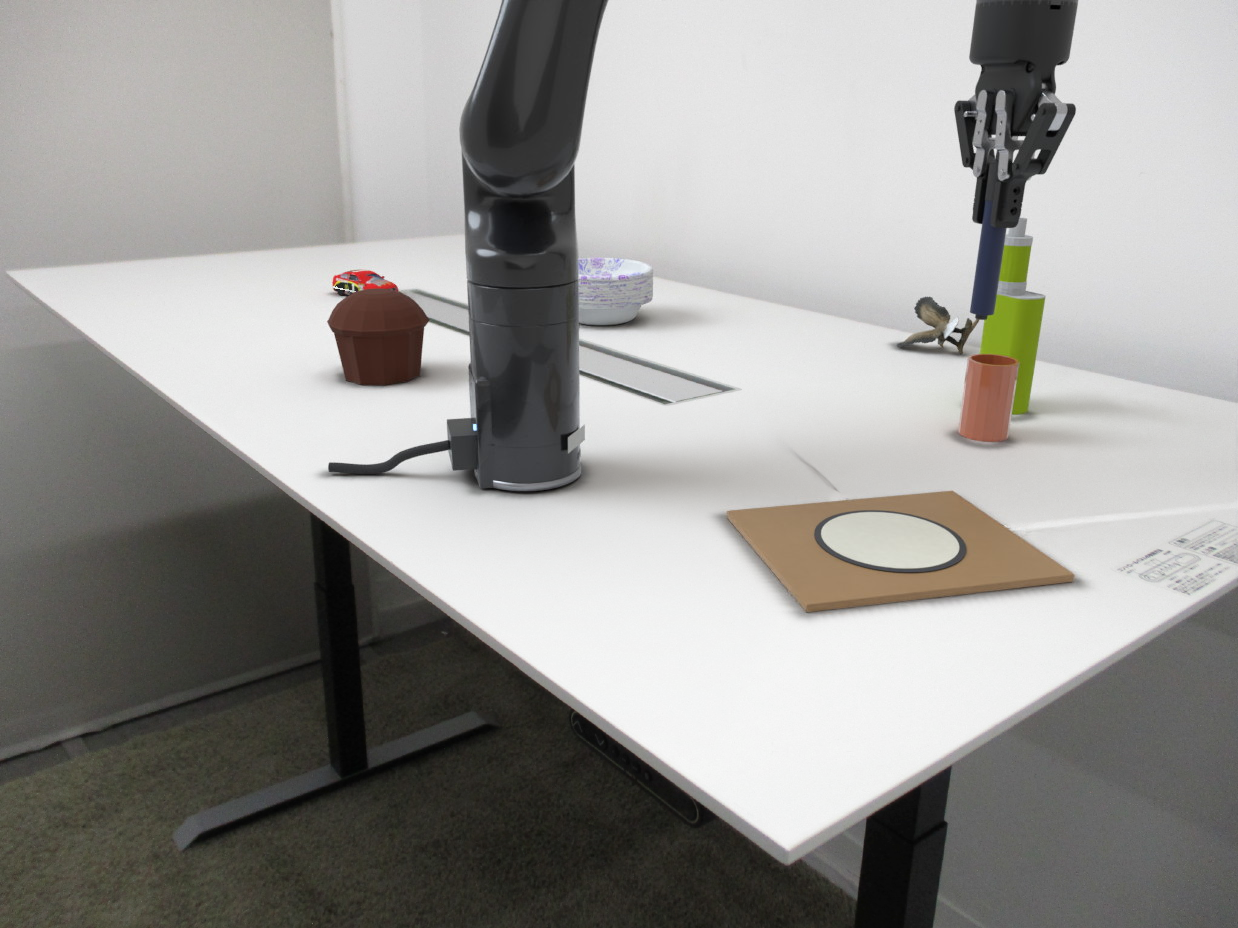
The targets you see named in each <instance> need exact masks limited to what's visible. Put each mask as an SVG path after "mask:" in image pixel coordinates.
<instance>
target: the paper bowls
mask: <svg viewBox="0 0 1238 928" xmlns="http://www.w3.org/2000/svg"><path fill="white" fill-rule="evenodd" d="M653 275H654V268H653V266H652V265H651V264H649V263H647V262H644V261H640V260H636V259H635V260H634V259H627V258H618V257H617V258H615V257H614V258H613V257H585V258H579V325H580V324H581V325H587V326H588V325H589V326H613V325H614V326H615V325H621V324H625V323H628V322H631V321H632V320H634V319H635V318H636V317H637V315H638V314H639V312H640V309H641V307H642V306H643V305H646V304H649V303H651V302H652V300H653V297H654V276H653Z"/></svg>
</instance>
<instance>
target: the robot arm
mask: <svg viewBox="0 0 1238 928" xmlns="http://www.w3.org/2000/svg"><path fill="white" fill-rule="evenodd" d="M608 3H609V0H501V3H500V6H499V10H498V14H497V17H496V20H495V23H494V27H493V29H492V33H491V36H490V38H489V42H488V44H487V48H486V51H485V54H484V57H483V59H482V63H481V65H480V68H479V71H478V74H477V77H476V79H475V82H474V84H473V88H472V89H471V92H470V94H469V96H468V98H467V100H466V102H465V104H464V107H463V109H462V112H461V116H460V120H459V129H458V130H459V131H458V132H459V143H460V149H461V151H460V153H461V168H462V189H463V210H464V211H463V212H464V213H463V214H464V254H465V268H466V269H465V270H466V287H467V288H466V290H467V291H466V292H467V309H468V310H467V313H468V332H469V351H470V352H469V354H470V362H469V363H468V370H467V371H468V387H469V389H468V390H469V391H468V392H469V410H470V412H469V413H470V417H463V418H462V417H461V418H447V419H446V433H447V439H446V440H441V441H436V442H431V443H426V444H421V445H417V446H413V447H410V448H407V449H404V450H401V451H399V452H397V453H395V454H394V455H393V456H391V457H390V458H389V459H388V460H386V461H383V462H379V463H371V464H370V463H369V464H368V463H367V464H366V463H365V464H363V463H361V464H359V463H347V462H336V461H335V462H330V461H329V462H328V465H327V469H328V472H329V473H338V474H339V473H340V474H353V475H377V474H382V473H383V474H384V473H387V472H389V471H392V470H393V469H395V468H396V467H397V466H399V465H400V464H401V463H404V462H405V461H408V460H411V459H413V458H417V457H421V456H426V455H430V454H436V453H440V452H441V453H442V452H446V451H448V452H447V453H448V456H449V461H450V463H451V469H452V471H454V472H455V471H467V470H474V476H475V478H476V480H477V484H478V487H479V489H498V490H504V491H513V492H537V491H544V490H552V489H556V488H560V487H564V486H566V485H569V484H570V483H572V482H574V481H576V480H577V479H578V478H580V476H581V474H582V461H581V444H582V443H583V442H584V441H585V440H586V424H583V425H582V426H581V401H580V400H581V398H580V397H581V395H580V393H581V392H580V388H581V387H580V383H581V382H580V323H579V259H580V256H579V255H580V251H579V242H578V231H577V218H576V172H575V171H576V166H575V165H576V161H577V157H578V155H579V152H580V148H581V147H580V146H581V139H582V132H583V125H584V117H585V112H586V104H587V98H588V91H589V85H590V81H591V76H592V70H593V63H594V58H595V52H596V48H597V42H598V38H599V35H600V29H601V26H602V22H603V18H604V15H605V12H606V9H607V7H608ZM1078 5H1079V0H976V1H975V9H974V17H973V23H972V31H971V39H970V46H969V47H970V49H969V54H968V55H969V56H968V57H969V58H968V59H969V61H970V63H971V64H972V65H977V66H980V68H981V69H980V74H979V78H978V80H977V82H976V84H975V89H974V95H972V96H971V97H970V98H969V99H967V100H960V99H959V100H957V101H956V102H955V104H954V108H953V111H954V117H955V123H956V124H955V125H956V131H957V136H958V144H959V150H960V157H961V164H962V166H963V168H970V170H972V174H973V175H972V176H973V177H975V178H976V181H975V182H976V183H975V190H974V198H973V205H972V216H971V217H972V218H971V220H972V222H973V223H974V224H978V225H982V221H983V214H984V207H985V195H986V188H987V180H988V173H989V166H990V163H999V166H998V178H999V180H1000V181H996V185H995V192H994V199H993V206H992V213H991V220H990V224H991V226H992V227H996V228H1007V229H1009V228H1014V227H1016V226H1017V225H1018V222H1019V218H1021V216H1022V208H1023V202H1024V195H1025V188H1026V184H1027V182H1028V181H1030V180H1031V179H1032V177H1034V176H1036V175H1037V176H1038V175H1039V176H1041V175H1045V174H1046V173H1047V171H1048V169H1049V167H1050V165H1051V164H1052V161H1053V159H1054V158H1055V156H1056V154H1057V152H1058V149H1059V148H1060V146H1061V143H1062V142H1063V141H1064V137H1065V136H1066V134H1067V132H1068V129H1069V128H1070V126H1071V124H1072V122H1073V120H1074V117H1075V116H1076V113H1077V108H1076V105H1075V104H1074V103H1072V102H1071V103H1066V102H1062V101H1061V100H1060V99H1059V97H1057V96H1056V91H1057V83H1056V76H1055V75H1056V74H1055V73H1056V67H1057V66H1063V65H1065V64H1066V63H1067V62H1068V61H1069V59H1070V58H1071V57H1070V56H1071V50H1072V44H1073V37H1074V31H1075V25H1076V18H1077V13H1078ZM993 136H995V137H993ZM1019 137H1024V139H1019ZM974 147H975V150H974ZM995 150H996V153H995ZM1038 150H1039V153H1038V154H1037V157H1035V156H1036V155H1035V154H1036V152H1037V151H1038ZM1015 151H1018V152H1017V154H1016V156H1015V157H1014V154H1015Z"/></svg>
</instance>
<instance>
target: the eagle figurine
mask: <svg viewBox="0 0 1238 928" xmlns="http://www.w3.org/2000/svg"><path fill="white" fill-rule="evenodd" d="M913 309H914V313H915V314H916V317H917V318H918V319H919V320H920V321H922V322H923V323H924V324H925V325H927V326H929V327H932V328H933V329H929V330H924V331H923V330H922V331H918V332H915V333H912V334H910V335H909V336H908V337H907V338H906V339H904V341H902V342H899V343H896V346H897V347H899V348H902V347H907V346H909V345H914V344H920V343H921V344H928V343H933V342H935V341H936V340H937V345H939V346H940V347H941V348H944V344H945V342H948V343H950V344H952V345H953V346H955V347H956V349H957V353H958V354H959V355H960V356H962V355H963V351H964V346H965V345H966V343H967V341H968V339H969V337H970V335H971V334H972V332H973V331H974V329H975V328H976V327H977V325H978V324H979V322H980V320H979V319H976V318H975V320H974V321H973V320H971V318H969V317H967V318H966V321H965V324H964V327H961V328H958V325H959V322H960V320H959V319H960V318H959V316H956V317H955V318H954V319H953V320H951V314H950V312H949V311H948V309H947V308H946V307H945V306H942V305H939V303H938V302H936V301H935V300H934V298H933V297H931V296H923V297H920V298H919V299H918V300H917V302H915V306H914V308H913ZM950 320H951V321H950ZM954 333H955V334H961V335H960V338H959V340H958V341H957V340H956V338H954V337H953V336H951V334H954Z"/></svg>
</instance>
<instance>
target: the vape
mask: <svg viewBox="0 0 1238 928" xmlns="http://www.w3.org/2000/svg"><path fill="white" fill-rule="evenodd" d="M1027 224H1028V218H1026V217H1020V218H1019V222H1018V225H1017V226H1016V227H1014V228H1008V232H1007V233H1006V236H1005V243H1004V250H1003V257H1002V263H1001V270H1000V277H999V284H998V290H997V297H996V304H995V311H994V314H993V315H988V317H987V319H986V320H983V325H982V326H983V328H982V335H981V342H980V349H979V354H998V355H1005V356H1009V357H1012V358H1015V359H1017V360H1018V361H1019V369H1018V375H1017V382H1016V389H1015V395H1014V402H1013V409H1012V415H1011V416H1015V415H1017V416H1018V415H1023V414H1026V413H1028V412H1029V405H1030V400H1031V393H1032V386H1033V380H1034V374H1035V367H1036V362H1037V361H1036V360H1037V354H1038V349H1039V342H1040V335H1041V329H1042V323H1043V315H1044V309H1045V304H1046V295H1045V294H1043V293H1038V292H1033V291H1029V290H1027V286H1028V280H1027V279H1028V271H1029V266H1030V260H1031V259H1030V258H1031V252H1032V246H1033V241H1034V237H1033V236H1032V235H1027V234H1026V231H1027Z"/></svg>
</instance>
